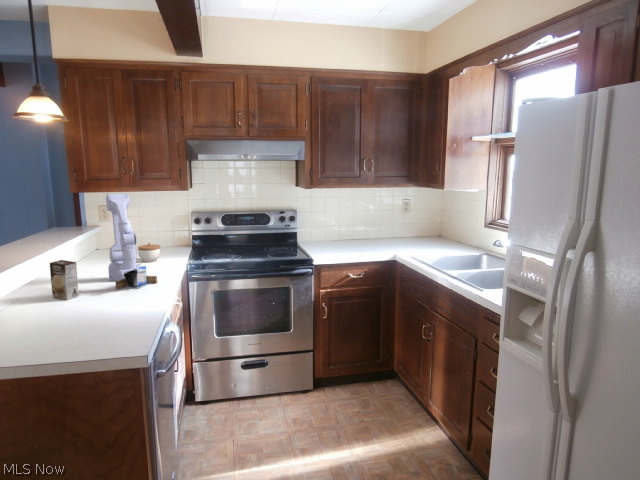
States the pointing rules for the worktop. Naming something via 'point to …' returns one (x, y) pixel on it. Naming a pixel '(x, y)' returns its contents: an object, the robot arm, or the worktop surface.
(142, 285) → the pad
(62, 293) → the coffee box
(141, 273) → the medicine box
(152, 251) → the lidded bowl
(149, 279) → the brown wooden block
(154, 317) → the worktop surface
